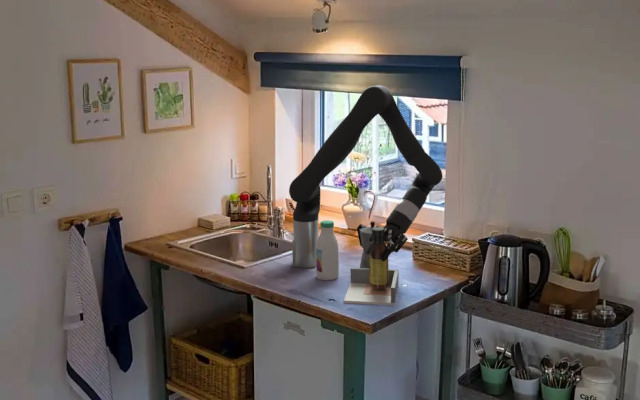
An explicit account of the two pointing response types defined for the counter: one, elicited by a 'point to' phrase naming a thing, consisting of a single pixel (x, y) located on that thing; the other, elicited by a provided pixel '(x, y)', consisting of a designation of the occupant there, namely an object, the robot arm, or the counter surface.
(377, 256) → the sauce bottle
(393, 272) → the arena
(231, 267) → the counter surface
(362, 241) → the coffeepot
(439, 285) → the counter surface
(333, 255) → the milk bottle
